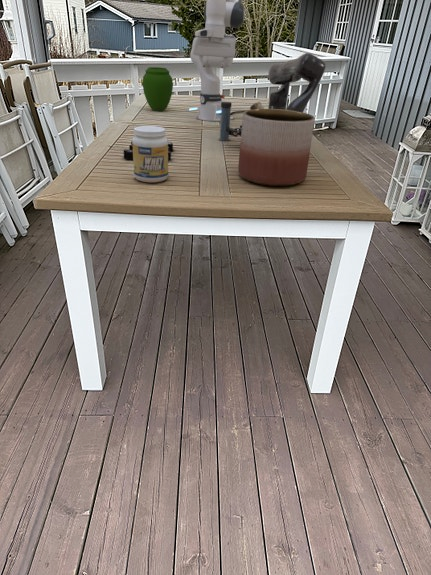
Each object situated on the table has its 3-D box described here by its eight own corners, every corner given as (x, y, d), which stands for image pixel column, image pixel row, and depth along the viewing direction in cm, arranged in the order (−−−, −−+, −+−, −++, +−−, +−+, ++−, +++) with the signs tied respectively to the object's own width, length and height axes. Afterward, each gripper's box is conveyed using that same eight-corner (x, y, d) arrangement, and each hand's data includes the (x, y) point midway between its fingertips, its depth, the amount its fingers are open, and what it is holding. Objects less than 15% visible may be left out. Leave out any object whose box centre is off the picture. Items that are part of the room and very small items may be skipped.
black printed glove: (122, 152, 163) (135, 135, 189) (122, 159, 165) (135, 142, 190) (169, 154, 164) (176, 137, 189) (170, 161, 165) (176, 144, 191)
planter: (315, 188, 145) (327, 122, 133) (246, 188, 141) (252, 121, 129) (292, 167, 166) (301, 109, 155) (231, 167, 162) (235, 107, 150)
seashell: (262, 114, 271) (264, 101, 267) (264, 116, 267) (266, 102, 262) (248, 114, 270) (249, 101, 266) (250, 115, 265) (251, 102, 261)
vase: (143, 107, 275) (142, 66, 262) (173, 108, 277) (172, 67, 264) (142, 112, 259) (140, 68, 246) (173, 113, 261) (173, 70, 248)
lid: (220, 106, 197) (220, 101, 196) (230, 106, 198) (230, 101, 197) (221, 107, 193) (221, 103, 192) (232, 108, 194) (232, 103, 193)
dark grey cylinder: (219, 139, 205) (221, 102, 196) (228, 139, 206) (230, 102, 197) (220, 141, 201) (222, 104, 192) (229, 141, 202) (231, 104, 193)
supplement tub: (139, 184, 140) (136, 133, 131) (130, 174, 149) (127, 125, 140) (173, 181, 144) (172, 131, 135) (162, 172, 153) (161, 124, 144)
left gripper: (234, 35, 191) (232, 68, 198) (191, 31, 186) (190, 66, 193) (238, 35, 186) (235, 69, 193) (194, 31, 181) (193, 66, 188)
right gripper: (268, 125, 187) (245, 119, 198) (244, 127, 179) (222, 121, 190) (266, 142, 191) (244, 135, 202) (243, 145, 183) (221, 137, 194)
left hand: (212, 67), depth 193 cm, fingers open, 8 cm apart
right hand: (233, 128), depth 196 cm, fingers open, 8 cm apart
